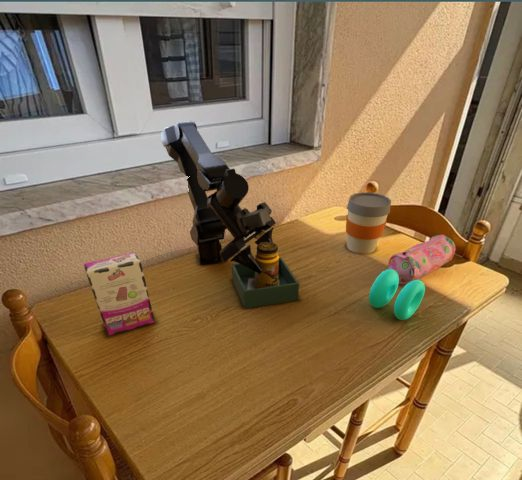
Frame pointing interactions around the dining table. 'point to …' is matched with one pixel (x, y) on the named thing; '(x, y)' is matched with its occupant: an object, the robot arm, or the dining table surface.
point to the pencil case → (422, 258)
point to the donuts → (406, 299)
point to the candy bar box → (120, 292)
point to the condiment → (266, 266)
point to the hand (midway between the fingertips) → (269, 265)
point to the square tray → (265, 295)
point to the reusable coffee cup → (366, 221)
